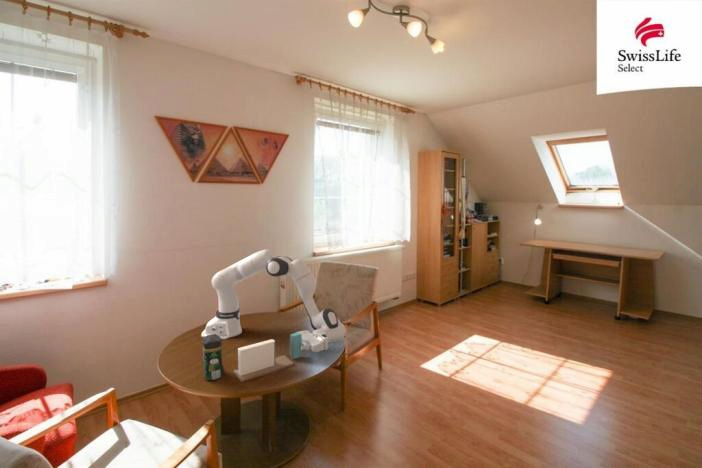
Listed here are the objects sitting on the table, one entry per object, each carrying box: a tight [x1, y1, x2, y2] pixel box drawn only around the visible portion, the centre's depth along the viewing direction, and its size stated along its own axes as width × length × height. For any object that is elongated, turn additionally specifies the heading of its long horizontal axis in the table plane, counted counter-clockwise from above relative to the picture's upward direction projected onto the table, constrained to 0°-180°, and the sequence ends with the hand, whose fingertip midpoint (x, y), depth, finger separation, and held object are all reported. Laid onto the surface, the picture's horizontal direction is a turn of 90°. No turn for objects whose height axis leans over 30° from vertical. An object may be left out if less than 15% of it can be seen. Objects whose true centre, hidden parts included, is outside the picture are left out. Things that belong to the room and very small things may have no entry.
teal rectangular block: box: [289, 331, 303, 360], centre depth 174 cm, size 5×3×12 cm, turn 128°
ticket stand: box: [233, 338, 295, 383], centre depth 164 cm, size 26×10×13 cm, turn 128°
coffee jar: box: [202, 334, 223, 381], centre depth 156 cm, size 10×8×19 cm
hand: (295, 344), depth 174 cm, fingers open, 8 cm apart
